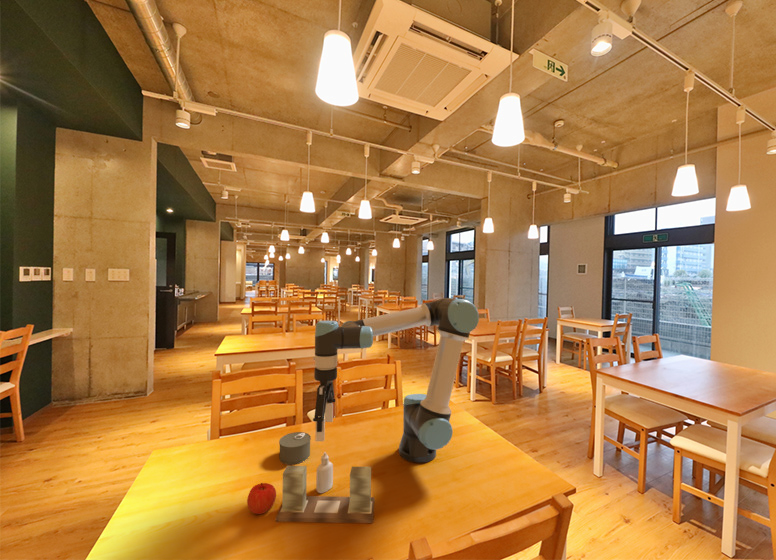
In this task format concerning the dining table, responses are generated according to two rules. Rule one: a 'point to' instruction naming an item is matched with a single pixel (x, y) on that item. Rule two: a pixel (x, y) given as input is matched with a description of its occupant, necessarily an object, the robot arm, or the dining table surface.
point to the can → (294, 448)
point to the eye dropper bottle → (324, 475)
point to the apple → (261, 498)
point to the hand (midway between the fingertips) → (324, 430)
